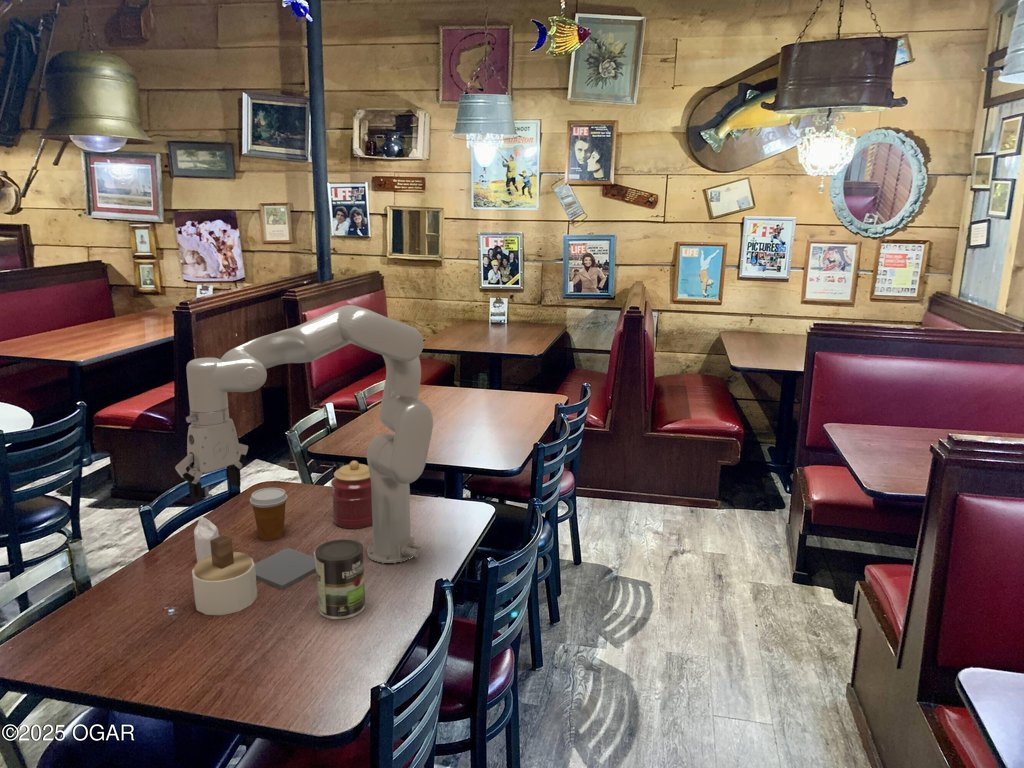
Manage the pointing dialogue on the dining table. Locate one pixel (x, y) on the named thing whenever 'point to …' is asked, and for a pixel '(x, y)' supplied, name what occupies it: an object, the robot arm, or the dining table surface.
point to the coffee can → (340, 579)
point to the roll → (204, 537)
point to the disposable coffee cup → (269, 512)
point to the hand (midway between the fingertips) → (216, 492)
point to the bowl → (225, 593)
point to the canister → (352, 496)
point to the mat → (285, 568)
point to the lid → (222, 561)
